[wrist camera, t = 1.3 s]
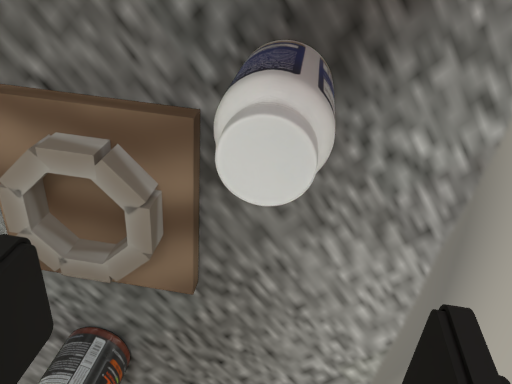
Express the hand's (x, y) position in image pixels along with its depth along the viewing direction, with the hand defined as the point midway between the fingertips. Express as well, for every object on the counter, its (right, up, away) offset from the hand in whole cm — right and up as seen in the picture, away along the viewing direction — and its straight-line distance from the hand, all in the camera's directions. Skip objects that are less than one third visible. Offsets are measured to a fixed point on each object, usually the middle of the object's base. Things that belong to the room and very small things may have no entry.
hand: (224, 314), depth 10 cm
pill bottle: (+2, +9, +15) cm, 17 cm away
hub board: (-10, +3, +20) cm, 23 cm away
